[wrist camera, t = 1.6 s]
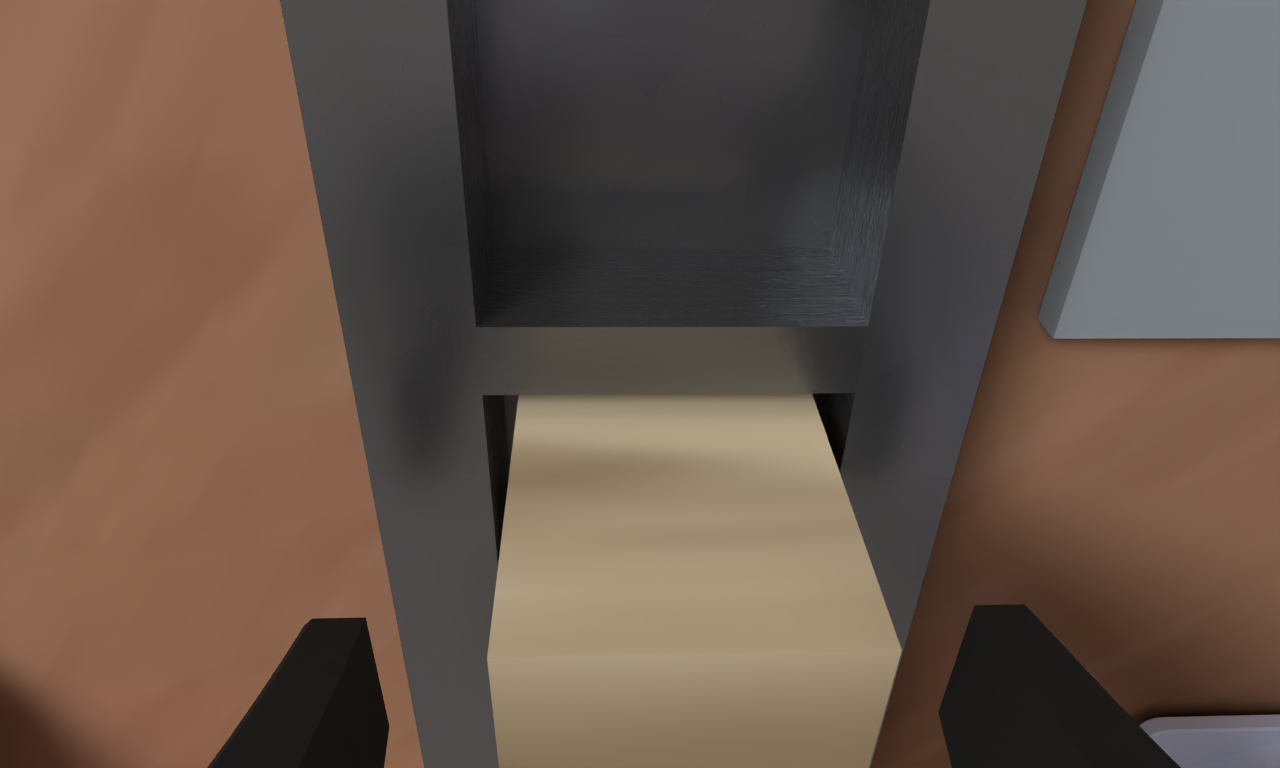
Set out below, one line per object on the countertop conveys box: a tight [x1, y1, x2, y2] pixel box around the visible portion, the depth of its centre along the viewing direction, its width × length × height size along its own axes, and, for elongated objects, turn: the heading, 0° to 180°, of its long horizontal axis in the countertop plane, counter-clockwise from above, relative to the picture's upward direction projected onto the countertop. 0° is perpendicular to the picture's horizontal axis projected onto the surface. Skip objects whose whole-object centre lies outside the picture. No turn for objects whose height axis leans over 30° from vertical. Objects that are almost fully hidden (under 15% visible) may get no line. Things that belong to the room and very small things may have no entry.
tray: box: [280, 0, 1087, 768], centre depth 14 cm, size 18×8×3 cm, turn 179°
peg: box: [487, 393, 902, 768], centre depth 12 cm, size 4×4×6 cm
